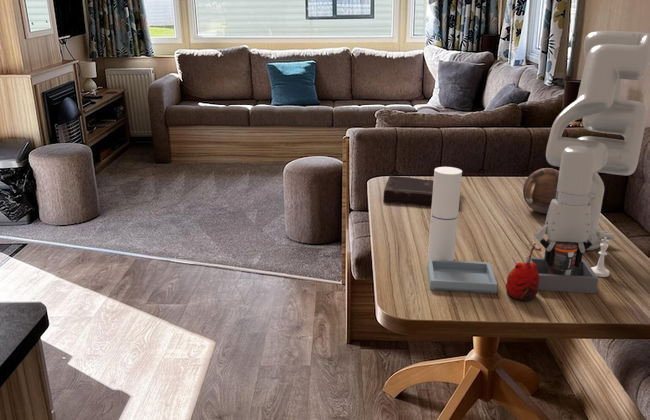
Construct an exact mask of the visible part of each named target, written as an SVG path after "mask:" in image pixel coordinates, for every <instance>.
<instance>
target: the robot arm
mask: <svg viewBox="0 0 650 420" xmlns="http://www.w3.org/2000/svg"><path fill="white" fill-rule="evenodd" d="M583 41H584V42H583V55H584V56H583V57H584V62H585V63H584V67H583V72H582V76H581V79H580V81H581V82H580V84H579V87H578V94H577V97H576V99H575V100H574V101H573V102H571V103H569V105H567V106H566V107H565V108H564V109H563V110H561V112H559V114H558V115H557V116H556V118H555V119H554V121H553V123H552V126H551V129H550V133H549V136H548V141H547V144H546V150H545V158H546V159H545V160H546V161H547V163H548V164H549V165H550V166H553V167H558V168H559V170H558V171H559V178H558V185H557V192H556V199H552V201H551V203H550V206H549V209H548V213H547V214H546V217H545V218H546V219H545V222H544V226H542V227H541V228H540V229H538V230H537V231H535V233H534V234H533V236H534V237H535V239H536V240H537V241H538V242H539V243H540V244H541V246H543V247H544V249H545V250H544V257H543V258H544V260H545V261H546V262H547V264H548V266H551V265H552V259H553V251H552V248H553V247H554V245H555V243H556V242H576V243H577V246H578V247H577V254H576V260H575V267H579V263H581V261H582V260H583V254H584V253H585V252H586V251H594V250H597V249H599V248H601V247H600V244H601V243H602V241H601V240H602V239H604V238H605V237H606V240H609V241H614V239H615V234H614V233H610V232H607V230H600V229H599V222H600V217H601V213H602V211H601V210H602V206H603V199H604V195H605V194H604V193H605V185H604V181H603V180H602V178H601V176H600V175H599V173H604V174H610V175H617V176H630V175H632V174H634V173H635V172H636V169H637V167H638V164H639V159H640V154H641V149H642V143H643V138H644V133H645V128H646V120H647V108H646V106H645V104H643V103H642V102H641V101H637V100H631V99H621V91H622V87H623V80H629V81H640V80H642V79H644V78H645V76H646V75H647V74H648V71H649V69H650V33H649V32H644V31H643V32H641V31H620V30H597V31H592V32H589V33H588V34H587V35H586V36H585V37H584V40H583ZM579 119H582V126H583V128H584V129H586V130H587V131H589V132H595V133H601V134H613V135H619V136H622V137H623V138H624V139H616V138H608V137H600V136H593V135H591V136H589V135H586V136H580V137H577V138H576V137H575V138H574V137H566V136H562V135H563V133H564V132H565V129H566V128H567V127H568V126H569V125H570V124H572V123H573V122H575V121H577V120H579ZM544 235H546V236H547V239H545V238H544V237H543V236H544Z"/></svg>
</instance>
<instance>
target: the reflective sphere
mask: <svg viewBox="0 0 650 420" xmlns="http://www.w3.org/2000/svg"><path fill="white" fill-rule="evenodd" d="M559 171H560V170H557V169H554V168H552V167H551V168H549V167H545V168H539V169H537V170H535V171H533V172H532V173H531V174H530V175H529V176H528V177H527V178H526V179H525V181H524V184H523V188H522V194H523V196H522V197H523V199H524V201H525V203H526V205H527V206H528V207H529V208H530V209H531V210H533V211H535V212H536V213H539V214H545V215H547V213H548V209H549V206H550V203H551V201H552V199H556V192H557V185H558V178H559Z"/></svg>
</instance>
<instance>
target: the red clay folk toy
mask: <svg viewBox="0 0 650 420" xmlns="http://www.w3.org/2000/svg"><path fill="white" fill-rule="evenodd" d="M528 245H529V246H530V247H531V249H530V254H528V257H529V259H528V261H527V263H526V262H517V263H516V264H515V265H514V268H512V269H511V271H510V272H509V273H508V275H507V276H506V283H505V289H506V290H505V291H506V294H508V296H510V297H511V298H512V299H515V300H518V301H528V302H529V301H530V300H532V299H534V298H535V297H536V296H537V294H538V292H539V290H538V286H539V274H540V273H538V270H537V265H536V264H535V263H530V259H531V257H532V255H533V252H534V250H535V251H537V252H542V247H539V248H537V247H536V246H535V245H537V244H536V243H534V244H533V246H532V244H531V243H529V244H528Z"/></svg>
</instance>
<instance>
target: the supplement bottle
mask: <svg viewBox="0 0 650 420" xmlns="http://www.w3.org/2000/svg"><path fill="white" fill-rule="evenodd" d="M577 247H578V246H577V243H576V242H556V243H555V245H554V247H553V248H552V251H553V259H552V265H551V266H549V274H555V275H573V273H574V266H575V260H576V254H577ZM573 276H574V275H573Z"/></svg>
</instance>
